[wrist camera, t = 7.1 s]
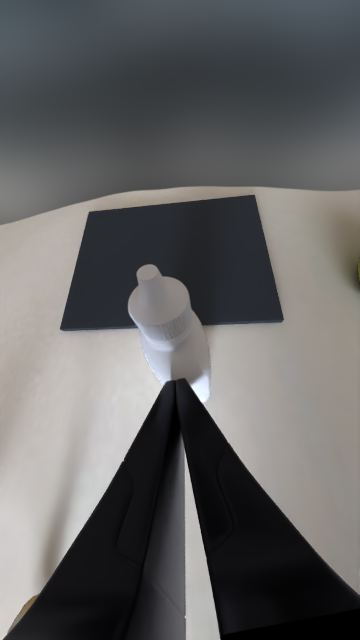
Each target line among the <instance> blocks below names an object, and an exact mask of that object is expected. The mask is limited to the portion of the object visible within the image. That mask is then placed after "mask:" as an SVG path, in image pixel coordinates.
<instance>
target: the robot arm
mask: <svg viewBox="0 0 360 640" xmlns="http://www.w3.org/2000/svg"><path fill="white" fill-rule="evenodd" d="M184 448H185V453H186V458H187V463H188V468H189V473H190V478H191V483H192V489H193V494H194V499H195V504H196V509H197V514H198V519H199V524H200V529H201V535H202V540H203V545H204V550H205V555H206V557H207V565H208V570H209V576H210V581H211V586H212V592H213V598H214V603H215V609H216V615H217V621H218V627H219V633H220V640H360V595H359V594H358V593H357V592H356V591H354V590H353V589H352V588H351V587H350V586H349V585H348V584H347V583H346V582H345V581H344V580H343V579H342V578H341V577H340V576H339V575H338V574H337V573H336V572H335V571H334V570H333V569H332V568H331V567H330V566H329V565H328V564H327V563H326V562H325V561H324V560H323V559H322V558H321V556H320V555H319V554H318V553H317V552H316V551H315V550H314V549H313V548H312V546H311V545H310V544H309V543H308V542H307V541H306V539H305V538H304V537H303V536H302V535H301V534H300V532H299V531H298V530H297V529H296V528H295V526H294V525H293V524H292V523H291V522H290V520H289V519H288V518H287V517H286V516H285V514H284V513H283V512H282V511H281V510H280V509H279V507H278V506H277V505H276V504H275V503H274V501H273V500H272V499H271V498H270V497H269V495H268V494H267V493H266V492H265V491H264V489H263V488H262V487H261V486H260V485H259V483H258V482H257V481H256V479H255V478H254V477H253V476H252V474H251V473H250V472H249V471H248V469H247V468H246V467H245V465H244V464H243V462H242V461H241V460H240V458H239V457H238V456H237V454H236V453H235V451H234V450H233V448H232V447H231V445H230V444H229V443H228V442H227V440H226V438H225V437H224V435H223V434H222V432H221V431H220V429H219V428H218V426H217V425H216V423H215V422H214V420H213V419H212V417H211V416H210V414H209V413H208V411H207V410H206V408H205V407H204V405H203V404H202V402H201V401H200V399H199V398H198V396H197V395H196V393H195V392H194V390H193V389H192V387H191V386H190V384H189V383H188V381H187V380H186V379H185V378H180V379H177V380H176V381H175V380H170V381H166V382H165V384H164V386H163V388H162V390H161V391H160V393H159V395H158V397H157V399H156V401H155V403H154V404H153V406H152V408H151V410H150V412H149V414H148V415H147V417H146V419H145V421H144V423H143V425H142V426H141V428H140V430H139V432H138V434H137V436H136V437H135V439H134V441H133V443H132V445H131V447H130V449H129V450H128V452H127V454H126V456H125V458H124V461H122V463H121V465H120V467H119V469H118V470H117V472H116V474H115V476H114V478H113V479H112V481H111V483H110V485H109V486H108V488H107V490H106V492H105V493H104V495H103V497H102V498H101V500H100V501H99V503H98V505H97V506H96V508H95V509H94V511H93V513H92V514H91V516H90V517H89V519H88V520H87V522H86V524H85V525H84V527H83V528H82V530H81V531H80V533H79V534H78V536H77V537H76V539H75V541H74V542H73V544H72V545H71V547H70V548H69V550H68V551H67V553H66V554H65V556H64V558H63V559H62V561H61V562H60V564H59V565H58V567H57V568H56V570H55V571H54V573H53V575H52V576H51V578H50V579H49V581H48V582H47V584H46V585H45V587H44V588H43V590H42V591H41V593H40V594H39V595H38V597H37V598H36V600H35V601H34V602H33V604H32V605H31V606H30V608H29V609H28V610H27V611H26V613H25V614H24V615H23V617H22V618H21V619H20V620H19V622H18V623H17V624H16V625H15V626H14V627H13V629H12V630H11V631H10V632H9V633H8V634H7V635H6V636H5V638H4V639H3V640H186V619H185V615H186V601H185V462H184Z"/></svg>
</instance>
